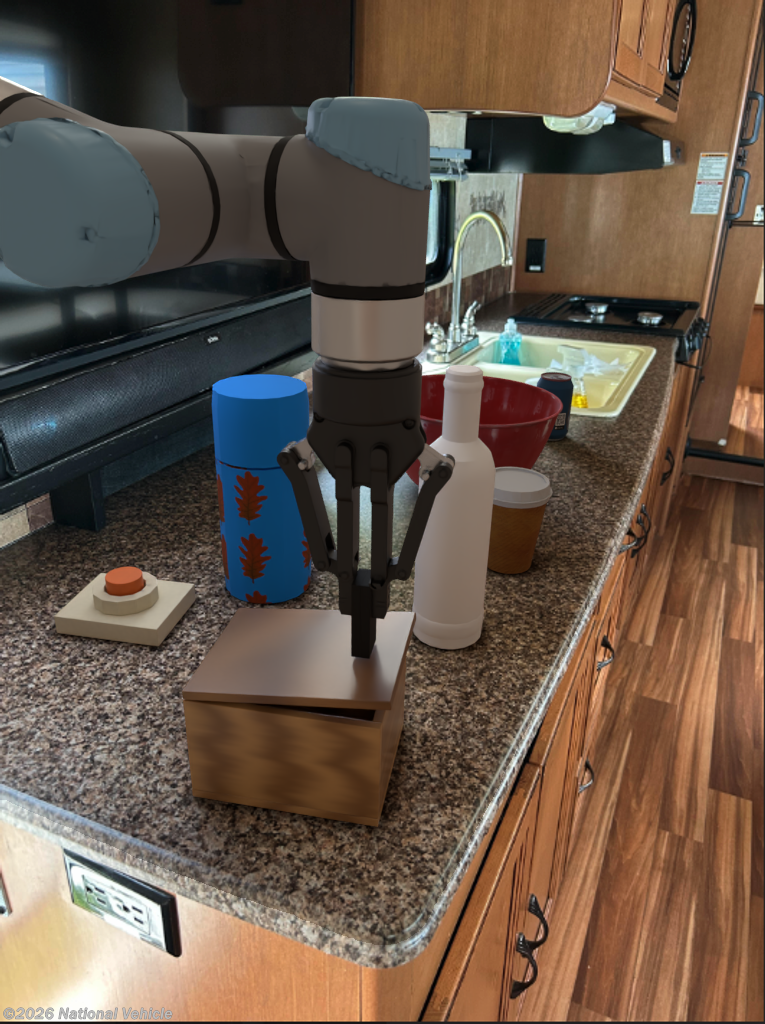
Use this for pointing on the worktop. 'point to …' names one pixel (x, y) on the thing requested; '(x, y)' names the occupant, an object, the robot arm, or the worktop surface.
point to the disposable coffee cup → (516, 518)
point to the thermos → (260, 486)
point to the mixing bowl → (497, 419)
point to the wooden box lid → (302, 660)
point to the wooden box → (295, 756)
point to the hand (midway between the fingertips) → (363, 647)
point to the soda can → (564, 391)
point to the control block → (127, 611)
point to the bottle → (457, 524)
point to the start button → (124, 581)
